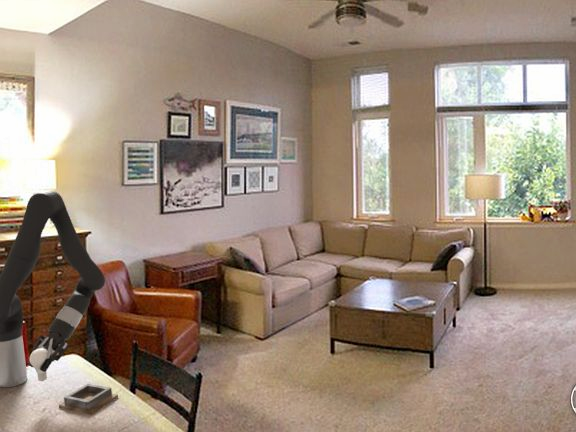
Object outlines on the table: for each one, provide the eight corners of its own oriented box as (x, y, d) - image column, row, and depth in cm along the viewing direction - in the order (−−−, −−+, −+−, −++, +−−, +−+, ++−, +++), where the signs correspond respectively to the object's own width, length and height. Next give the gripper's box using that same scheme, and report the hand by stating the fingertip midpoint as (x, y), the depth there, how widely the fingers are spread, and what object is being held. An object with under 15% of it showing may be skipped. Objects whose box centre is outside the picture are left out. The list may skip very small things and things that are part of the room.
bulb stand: (59, 407, 167) (57, 397, 167) (86, 391, 178) (85, 381, 177) (91, 414, 161) (90, 404, 161) (118, 397, 172) (117, 387, 172)
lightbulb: (45, 385, 165) (41, 353, 163) (27, 384, 166) (24, 352, 165) (57, 376, 171) (54, 345, 170) (40, 375, 172) (37, 344, 171)
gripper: (45, 314, 176) (15, 359, 168) (70, 320, 168) (40, 368, 160) (61, 324, 181) (32, 368, 173) (86, 331, 173) (57, 377, 165)
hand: (36, 368), depth 166 cm, fingers closed on lightbulb, 6 cm apart
